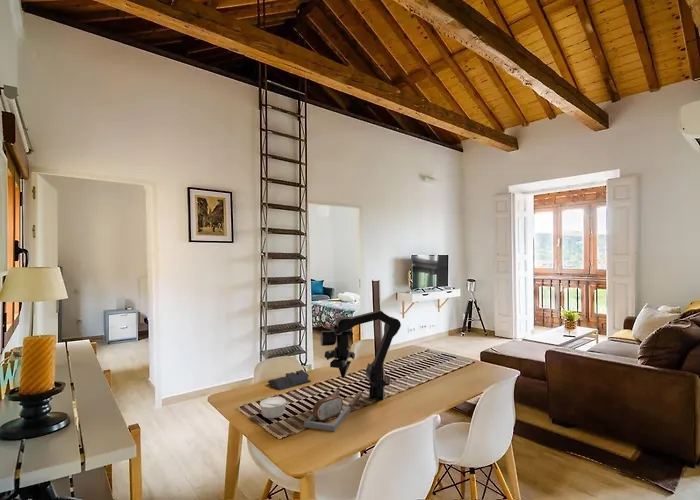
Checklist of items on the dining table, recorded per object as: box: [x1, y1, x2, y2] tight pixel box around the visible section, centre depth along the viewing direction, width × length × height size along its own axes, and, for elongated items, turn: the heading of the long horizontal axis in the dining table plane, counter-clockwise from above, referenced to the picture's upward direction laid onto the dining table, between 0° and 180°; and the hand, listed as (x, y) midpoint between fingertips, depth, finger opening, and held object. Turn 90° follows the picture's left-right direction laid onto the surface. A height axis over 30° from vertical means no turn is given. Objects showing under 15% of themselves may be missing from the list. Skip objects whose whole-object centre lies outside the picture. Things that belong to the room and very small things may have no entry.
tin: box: [312, 394, 344, 422], centre depth 159 cm, size 15×3×8 cm, turn 133°
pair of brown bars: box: [330, 389, 363, 410], centre depth 177 cm, size 13×16×2 cm
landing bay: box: [303, 405, 351, 432], centre depth 158 cm, size 13×20×2 cm, turn 162°
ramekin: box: [259, 396, 287, 419], centre depth 164 cm, size 11×11×5 cm
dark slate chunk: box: [267, 369, 312, 391], centre depth 204 cm, size 15×22×5 cm
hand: (343, 377), depth 177 cm, fingers closed
